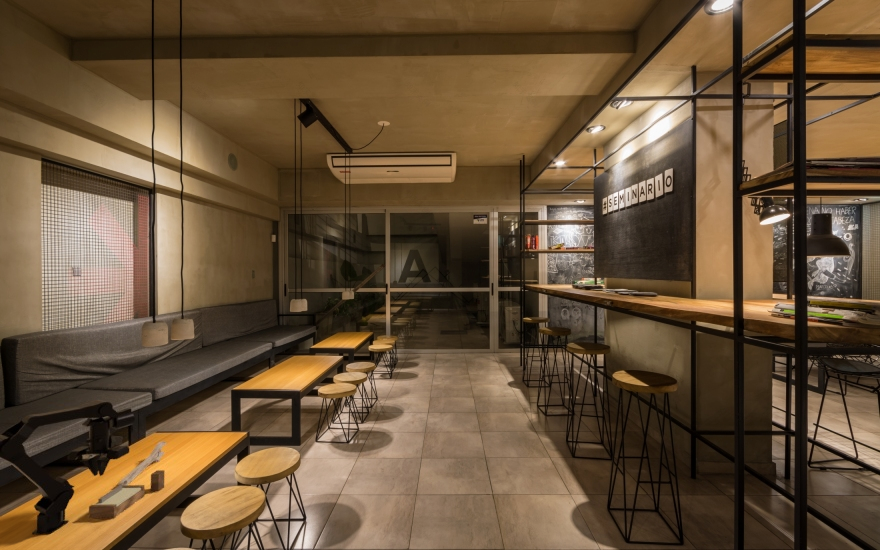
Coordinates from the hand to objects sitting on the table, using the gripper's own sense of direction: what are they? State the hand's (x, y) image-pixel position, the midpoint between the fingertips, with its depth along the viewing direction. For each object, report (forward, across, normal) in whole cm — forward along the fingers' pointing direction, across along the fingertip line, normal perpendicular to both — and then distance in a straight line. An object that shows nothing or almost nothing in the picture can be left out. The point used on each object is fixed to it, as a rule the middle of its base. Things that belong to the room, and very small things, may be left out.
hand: (98, 475), depth 141 cm
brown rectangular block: (+12, -14, -12) cm, 22 cm away
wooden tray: (+12, -8, 0) cm, 14 cm away
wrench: (+12, +4, -28) cm, 30 cm away
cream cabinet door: (+9, -8, 0) cm, 11 cm away
